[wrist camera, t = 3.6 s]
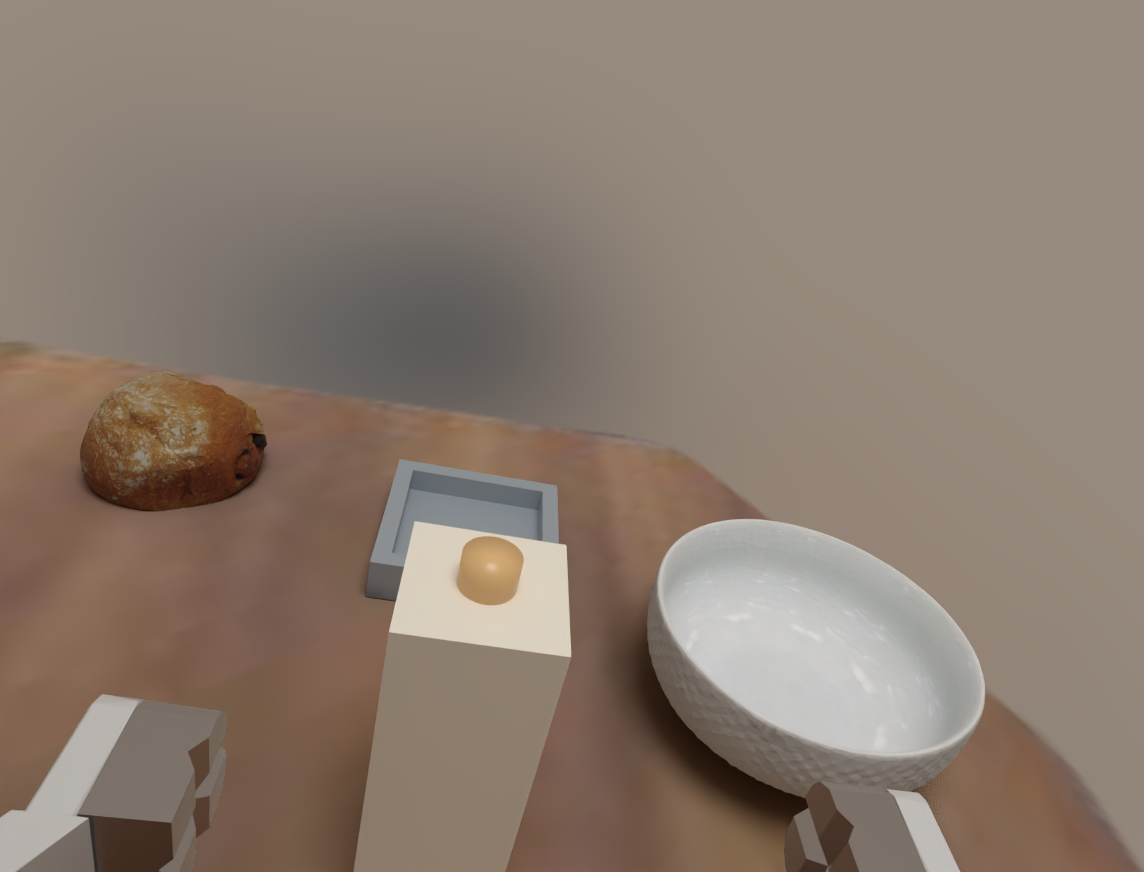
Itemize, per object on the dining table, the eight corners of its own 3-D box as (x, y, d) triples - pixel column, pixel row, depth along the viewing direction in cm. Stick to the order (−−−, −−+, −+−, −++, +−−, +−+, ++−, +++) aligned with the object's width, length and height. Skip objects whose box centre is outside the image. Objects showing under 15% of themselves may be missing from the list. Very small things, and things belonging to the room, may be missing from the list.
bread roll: (131, 469, 55) (64, 374, 50) (277, 418, 56) (225, 321, 51) (112, 564, 47) (30, 462, 42) (282, 501, 48) (222, 396, 44)
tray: (365, 596, 44) (369, 561, 43) (395, 490, 53) (399, 459, 52) (551, 623, 46) (560, 590, 44) (549, 515, 55) (556, 485, 53)
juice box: (348, 901, 30) (393, 601, 23) (375, 774, 35) (418, 493, 28) (492, 914, 31) (580, 628, 24) (498, 788, 36) (573, 518, 28)
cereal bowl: (741, 572, 54) (776, 487, 51) (973, 747, 45) (1036, 657, 41) (559, 671, 43) (590, 570, 39) (820, 933, 33) (890, 830, 30)
